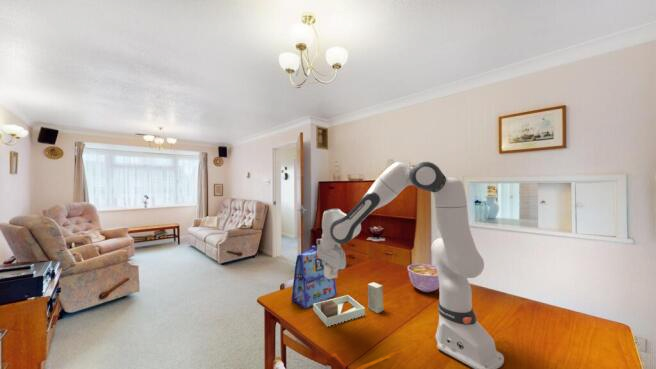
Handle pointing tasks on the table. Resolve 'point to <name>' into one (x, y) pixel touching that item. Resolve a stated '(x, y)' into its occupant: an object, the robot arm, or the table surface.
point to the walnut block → (329, 308)
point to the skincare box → (375, 297)
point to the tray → (347, 315)
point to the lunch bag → (311, 280)
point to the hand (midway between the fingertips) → (330, 272)
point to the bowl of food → (424, 277)
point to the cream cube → (329, 272)
